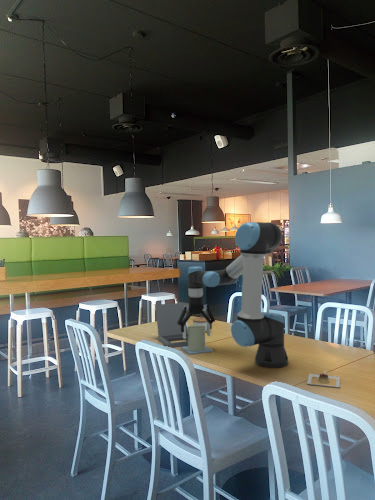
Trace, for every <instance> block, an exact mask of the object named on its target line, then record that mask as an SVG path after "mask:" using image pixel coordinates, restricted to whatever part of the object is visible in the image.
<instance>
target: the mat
mask: <svg viewBox="0 0 375 500" xmlns="http://www.w3.org/2000/svg"><path fill="white" fill-rule="evenodd" d="M205 348H206V349H205V350H202V351H191V350H188V346H184V347H180V349H181V350H182V351H184V352H185V353H186V354H187V355H197V354H205V353H213V352H214V350H213V349H211V348H209V347H208V346H206V345H205Z"/></svg>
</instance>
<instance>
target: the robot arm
mask: <svg viewBox="0 0 375 500" xmlns="http://www.w3.org/2000/svg"><path fill="white" fill-rule="evenodd" d="M282 240H283V232H282V230H281V229H280V227H279V226H278V225H277V224H276V223H274V222H268V221H267V222H261V221H258V222H256V221H249V222H244V223H242V224H241V225H240V226H239V227H238V228H237V230H236V232H235V237H234V241H235V244H236V247H237V248H238V249H239V252H240V253H239V254H240V255H239V256H238V257H236V258H235V259H234V260H233V261H232V262H231V263H230V264H229V265H227V266H226V267H225V268H224V269H220V270H208V271H207V270H203V267H202V266H189V267H188V269H187V285H188V287H187V289H188V296H189V297H188V306H186V305H185V306H186V307H185V306H183V311H182V313H181V315H180V318H179V320H178V322H177V324H178V325H181V332H183V338H184V339H186V326H185V324H186V322H187V323H188V321H189V319H190V318H191V317H192V316H193V315H201V317H202V318H205V319H206V320H207V321H208V322H209V323H207V331H206V336H208V337H211V330H212V327H213V325H212V324H213V323H214V322H215V321H216V319H215V317H214V315H213V313H212V311H211V308H210V306H209V304H204V287H208V288H215V287H217V286H225V285H232V284H236V283H237V282H238V280H239V278H240V276H241V275H242V279H241V281H242V283H241V299H240V300H241V302H240V303H241V305H240V310H239V312H238V313H237V314H236V320H235V321H233V322H232V324H231V326H230V331H231V336H232V338H233V340H234V342H235V343H236V344H237V345H239V346H240V347H245V348H246V347H253V346H255V345H257V349H256V353H255V356H254V363H255V364H256V365H258V366H260V367H264V368H275V369H276V368H284V367H287V366H288V365H289V356H288V354H287V351H286V348H285V318H284V316H283V315H282V314H280V313H275V312H268V311H265V312H264V311H262V295H263V294H262V290H263V275H264V274H263V273H264V258H265V257H266V256H267V255H269V254H271V253H272V252H273V251H275V250H276V249H277V248H278V247H279V246H280V245H281V243H282ZM204 309H205V311H206V313H207V315H208V316H207V315H206V313H205V312H204V311H203V310H204ZM188 310H189V311H188ZM187 311H188V312H187ZM185 314H186V317H185V318H184V316H185ZM183 318H184V320H183Z"/></svg>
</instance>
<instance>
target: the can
mask: <svg viewBox="0 0 375 500" xmlns="http://www.w3.org/2000/svg"><path fill="white" fill-rule="evenodd" d="M205 346H206V332H205V326H203V325H193V324H191V325H188V350H191V351H202V350H205V349H206V348H205Z"/></svg>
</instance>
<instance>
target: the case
mask: <svg viewBox="0 0 375 500" xmlns="http://www.w3.org/2000/svg"><path fill="white" fill-rule="evenodd" d="M183 306H185V307H187V305H186V302H178V303H177V302H175V303H164V304H163V303H162V304H155V311H156V312H155V313H156V315H155V316H156V323H157V324H156V326H157V334H158V341H159V342H160V343H161V344H162V345H163V346H164V347H166V346H168V347H172V348H171V349H174V348H181V347H186V346H188V326H189V325H188V321H187V322H186V324H185V326H186V339H184V338H183V332H181V325H178V324H177V322H178V320H179V318H180V315H181V313H182V311H183ZM186 316H187V313H186V314H185V316H184V318H185V317H186ZM184 318H183V320H184Z"/></svg>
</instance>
